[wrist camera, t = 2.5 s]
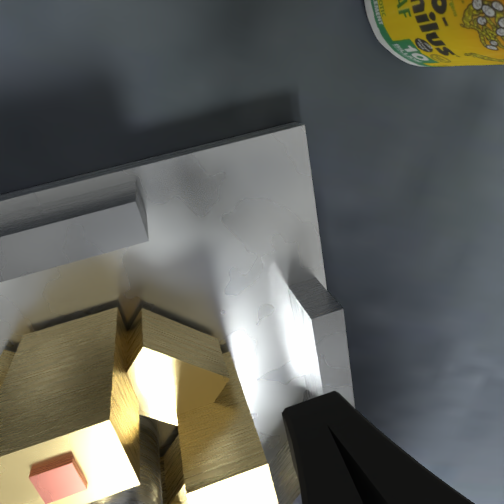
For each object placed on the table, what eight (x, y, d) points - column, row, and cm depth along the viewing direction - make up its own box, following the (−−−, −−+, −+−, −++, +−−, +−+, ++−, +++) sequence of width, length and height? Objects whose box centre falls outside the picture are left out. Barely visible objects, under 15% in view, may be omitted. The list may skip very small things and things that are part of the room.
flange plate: (344, 467, 23) (415, 599, 18) (-10, 603, 21) (-67, 815, 15) (294, 121, 15) (396, 153, 9) (-307, 271, 12) (-705, 451, 6)
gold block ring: (259, 461, 20) (302, 594, 15) (41, 542, 18) (6, 720, 13) (209, 279, 15) (246, 379, 10) (-83, 366, 14) (-205, 532, 9)
